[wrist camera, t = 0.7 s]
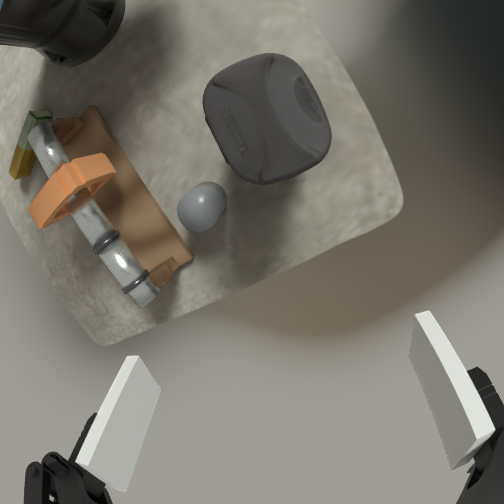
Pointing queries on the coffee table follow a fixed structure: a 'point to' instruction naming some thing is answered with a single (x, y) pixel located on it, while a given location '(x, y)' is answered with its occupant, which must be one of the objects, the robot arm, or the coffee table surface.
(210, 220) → the gray egg
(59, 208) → the ring
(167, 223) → the stand
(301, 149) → the coffee jar
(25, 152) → the medication box
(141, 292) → the pipe
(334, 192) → the coffee table surface
